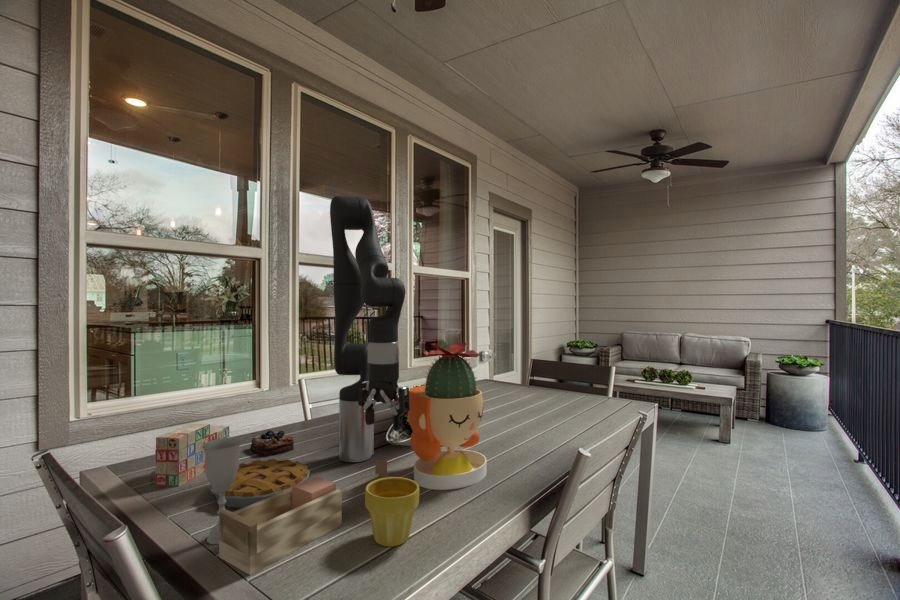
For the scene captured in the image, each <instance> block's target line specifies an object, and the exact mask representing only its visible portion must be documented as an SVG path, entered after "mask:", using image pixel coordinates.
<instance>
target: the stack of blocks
mask: <svg viewBox="0 0 900 600" xmlns="http://www.w3.org/2000/svg"><path fill="white" fill-rule="evenodd" d="M221 438H231V437H230V425H214V424H213V425H211V424H210V423H187V424H184V425H182V426H180V427H177V428H175V429H173V430H172V429H171V431H168V432H166V433H163V434H160V435H158V436H156V437H155V449H154V450H155V486H158V487H159V486H161V487H180V486H182V485H184V484H186V483H188V482H189V481H191V480H193V479H195V478H196V477H198V476H199V475H202V474H203V473H205V451H204V449H203V448H202V445H203V444H204V443H206V442H209V441H212V440H216V439H221Z"/></svg>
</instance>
